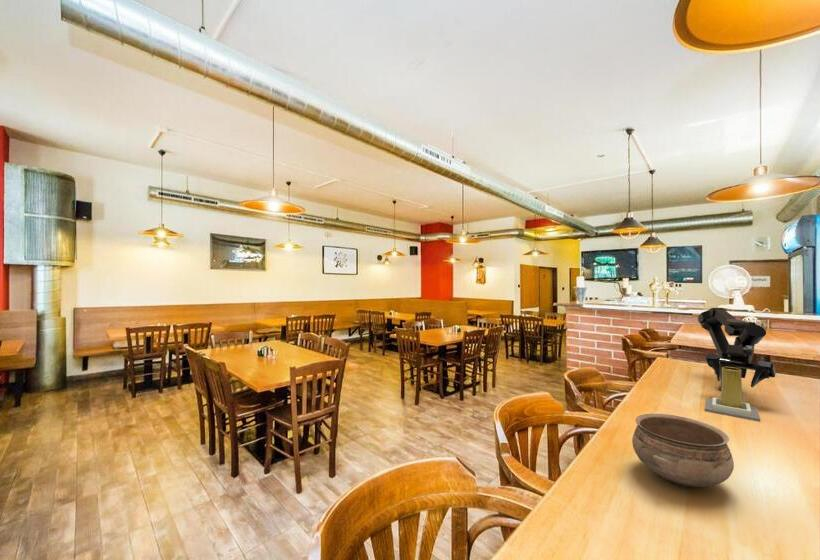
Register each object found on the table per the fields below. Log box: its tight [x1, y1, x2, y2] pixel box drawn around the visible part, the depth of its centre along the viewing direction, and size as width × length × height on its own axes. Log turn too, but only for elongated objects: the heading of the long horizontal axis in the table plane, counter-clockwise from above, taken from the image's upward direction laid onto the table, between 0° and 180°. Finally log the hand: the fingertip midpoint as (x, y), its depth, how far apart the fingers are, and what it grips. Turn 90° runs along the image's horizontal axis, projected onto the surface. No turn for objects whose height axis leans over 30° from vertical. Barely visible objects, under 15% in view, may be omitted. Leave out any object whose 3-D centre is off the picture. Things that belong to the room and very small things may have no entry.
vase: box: [720, 367, 743, 409], centre depth 125 cm, size 6×6×14 cm
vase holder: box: [704, 396, 761, 422], centre depth 125 cm, size 14×14×2 cm
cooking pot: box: [631, 413, 735, 488], centre depth 83 cm, size 25×19×12 cm
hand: (734, 383), depth 128 cm, fingers open, 9 cm apart
